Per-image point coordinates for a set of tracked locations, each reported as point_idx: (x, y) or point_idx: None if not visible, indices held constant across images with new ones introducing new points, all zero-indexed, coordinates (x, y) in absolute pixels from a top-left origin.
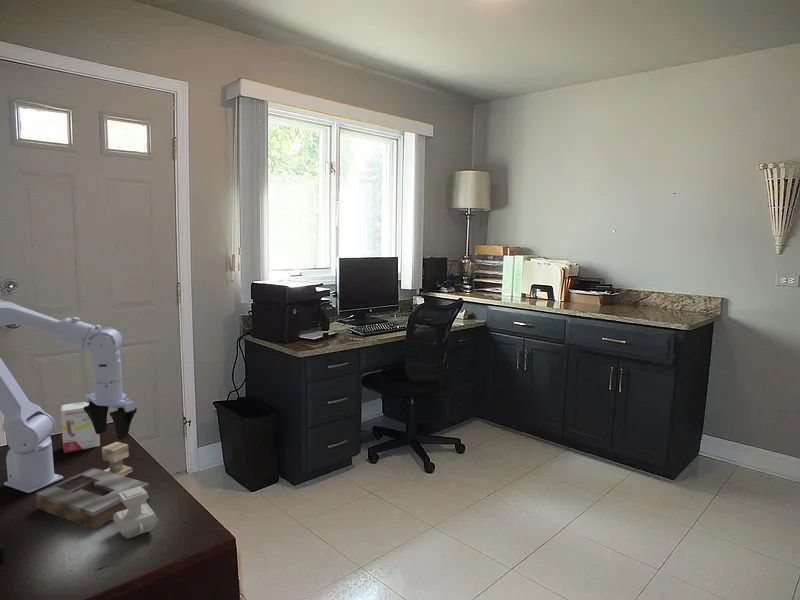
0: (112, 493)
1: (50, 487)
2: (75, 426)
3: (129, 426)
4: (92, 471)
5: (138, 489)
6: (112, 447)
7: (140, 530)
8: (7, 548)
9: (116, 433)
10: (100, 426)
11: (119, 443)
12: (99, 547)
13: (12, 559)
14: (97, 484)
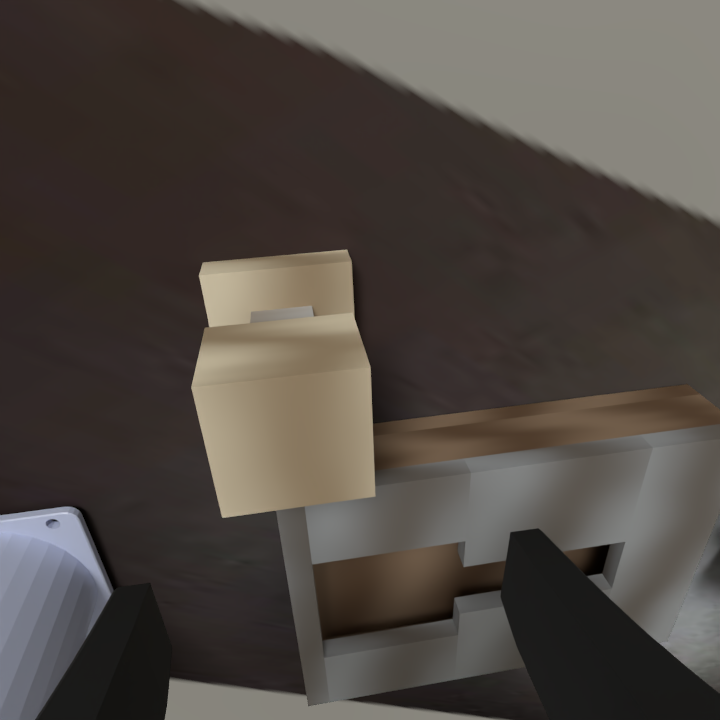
0: (633, 559)
1: (310, 669)
2: None
3: (643, 632)
4: (321, 523)
5: None
6: (300, 471)
7: None
8: (462, 713)
9: (536, 680)
10: (144, 715)
11: (266, 397)
12: (711, 602)
13: (524, 714)
14: (491, 561)
